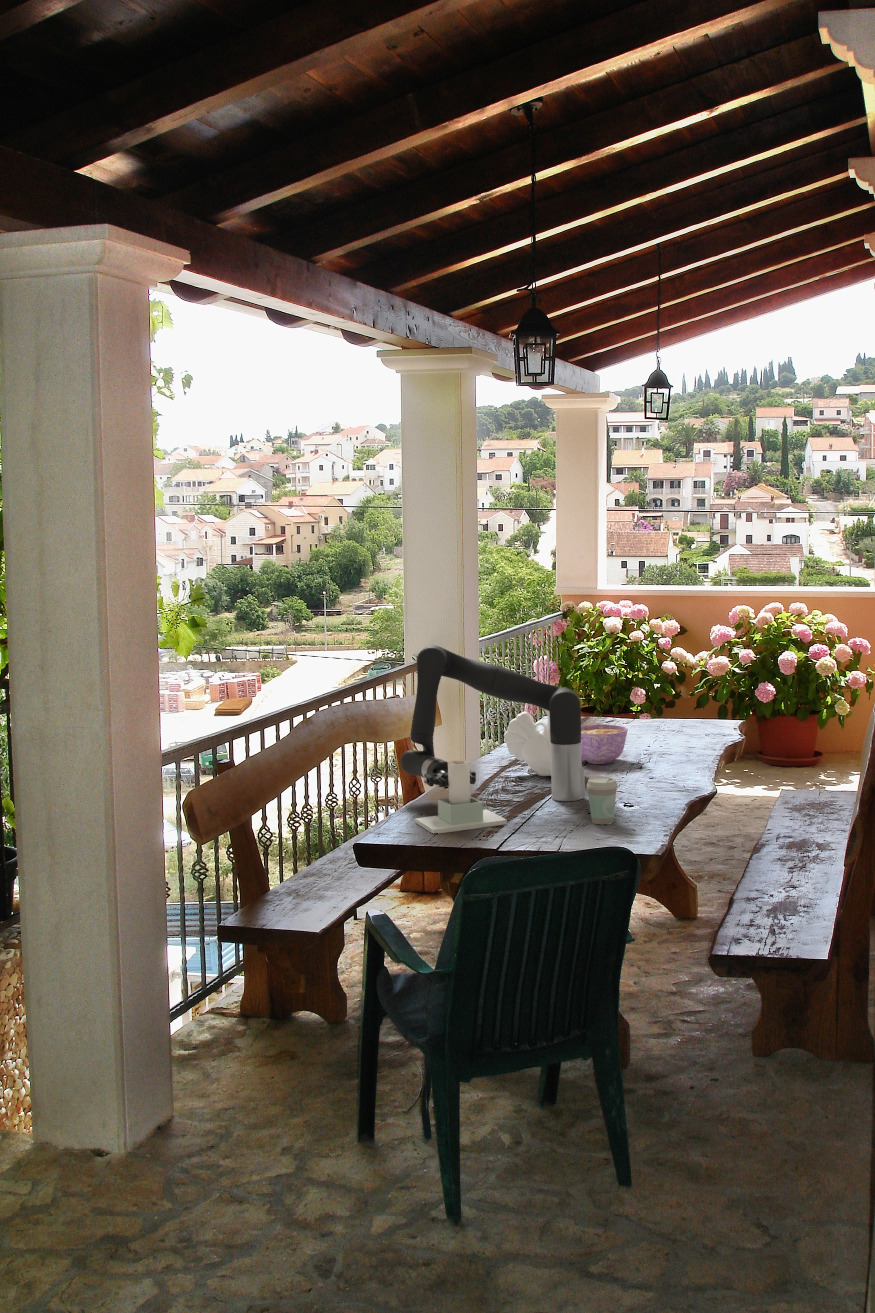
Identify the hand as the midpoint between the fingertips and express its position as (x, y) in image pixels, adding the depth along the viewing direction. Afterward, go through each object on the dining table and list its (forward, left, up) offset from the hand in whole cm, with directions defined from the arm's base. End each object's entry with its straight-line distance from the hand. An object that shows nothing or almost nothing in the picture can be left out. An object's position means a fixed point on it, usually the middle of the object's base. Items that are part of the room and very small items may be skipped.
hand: (459, 782), depth 311 cm
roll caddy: (0, 0, -12) cm, 12 cm away
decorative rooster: (-50, -47, -12) cm, 70 cm away
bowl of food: (-76, -55, -12) cm, 95 cm away
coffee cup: (-35, +18, -12) cm, 41 cm away
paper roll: (0, 0, -10) cm, 11 cm away
